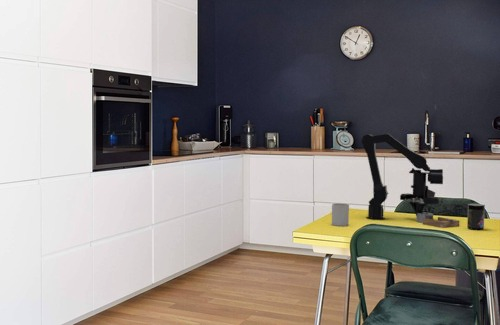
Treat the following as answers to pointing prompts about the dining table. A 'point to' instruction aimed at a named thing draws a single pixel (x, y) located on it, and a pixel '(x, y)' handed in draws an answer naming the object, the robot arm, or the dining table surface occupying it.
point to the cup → (340, 214)
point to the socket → (424, 216)
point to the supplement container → (475, 216)
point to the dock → (441, 222)
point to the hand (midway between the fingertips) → (418, 217)
